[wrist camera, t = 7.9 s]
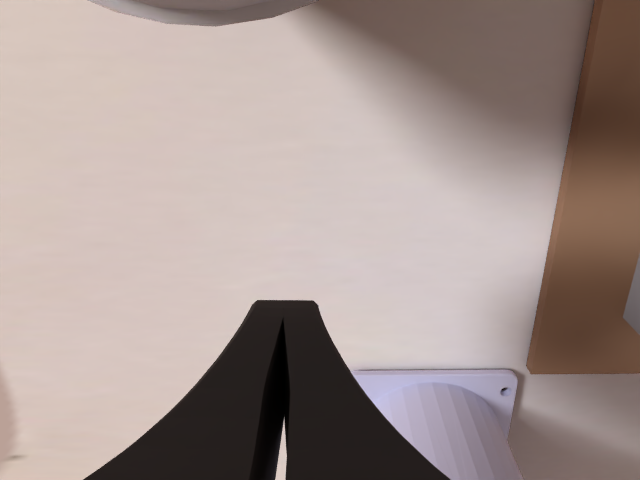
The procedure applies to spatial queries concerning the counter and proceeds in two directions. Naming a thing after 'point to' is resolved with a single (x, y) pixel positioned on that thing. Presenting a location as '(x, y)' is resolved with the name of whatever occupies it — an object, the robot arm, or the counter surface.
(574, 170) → the walnut board
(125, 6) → the disposable coffee cup
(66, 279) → the counter surface
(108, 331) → the counter surface
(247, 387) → the robot arm
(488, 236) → the counter surface
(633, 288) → the twin gray blocks
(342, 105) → the counter surface
